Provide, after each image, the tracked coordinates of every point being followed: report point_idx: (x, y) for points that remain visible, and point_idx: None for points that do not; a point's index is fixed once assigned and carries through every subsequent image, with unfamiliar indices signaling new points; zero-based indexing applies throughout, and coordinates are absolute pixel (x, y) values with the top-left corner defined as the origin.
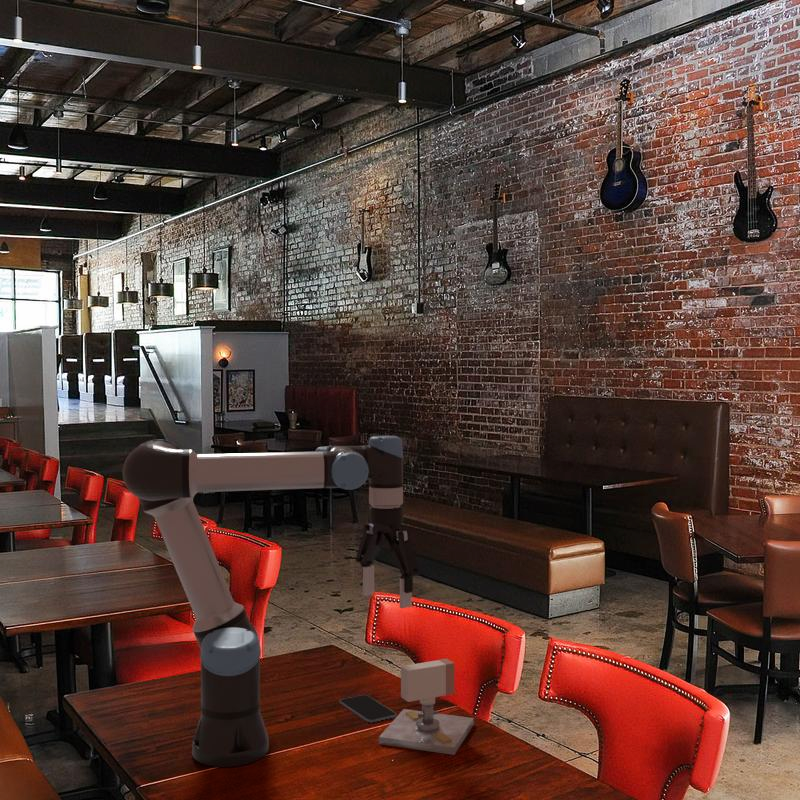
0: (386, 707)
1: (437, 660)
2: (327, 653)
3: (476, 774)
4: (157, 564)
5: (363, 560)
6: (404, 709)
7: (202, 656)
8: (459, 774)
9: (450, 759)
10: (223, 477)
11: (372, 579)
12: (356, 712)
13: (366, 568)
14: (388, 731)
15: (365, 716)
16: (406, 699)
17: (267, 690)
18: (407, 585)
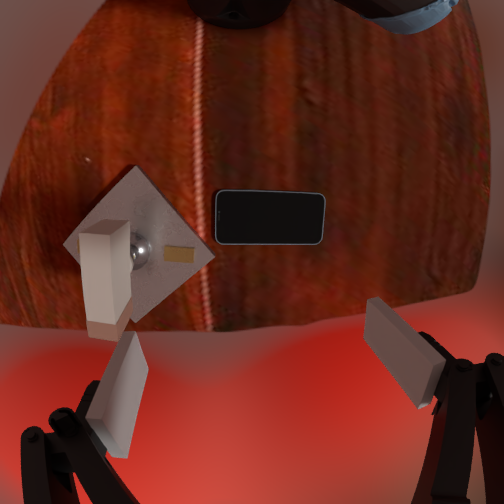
0: (252, 243)
1: (114, 321)
2: (463, 276)
3: (22, 234)
4: None
5: (463, 383)
6: (212, 256)
7: None
8: (27, 217)
9: (59, 230)
10: None
11: (391, 365)
12: (261, 190)
13: (427, 371)
14: (145, 188)
15: (237, 194)
16: (107, 219)
17: (414, 132)
18: (80, 404)
